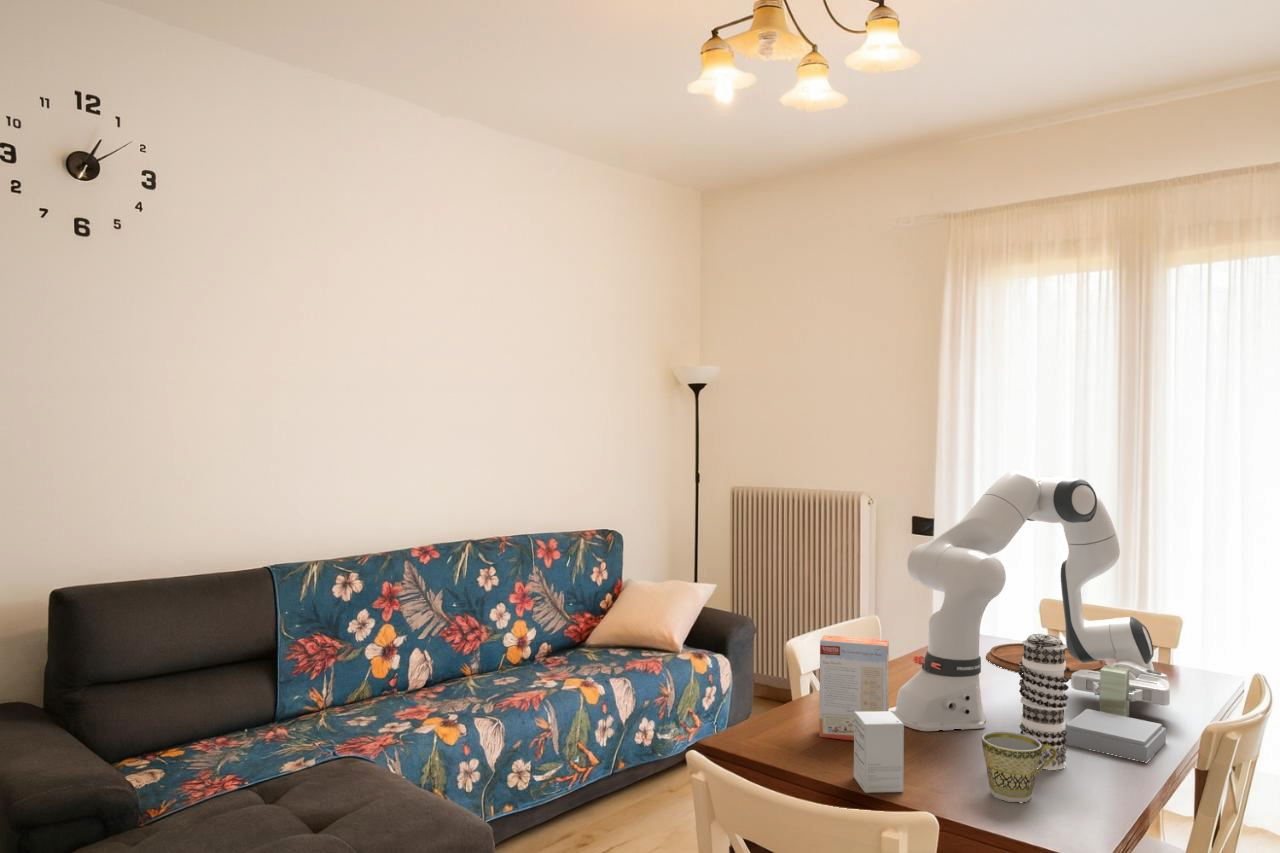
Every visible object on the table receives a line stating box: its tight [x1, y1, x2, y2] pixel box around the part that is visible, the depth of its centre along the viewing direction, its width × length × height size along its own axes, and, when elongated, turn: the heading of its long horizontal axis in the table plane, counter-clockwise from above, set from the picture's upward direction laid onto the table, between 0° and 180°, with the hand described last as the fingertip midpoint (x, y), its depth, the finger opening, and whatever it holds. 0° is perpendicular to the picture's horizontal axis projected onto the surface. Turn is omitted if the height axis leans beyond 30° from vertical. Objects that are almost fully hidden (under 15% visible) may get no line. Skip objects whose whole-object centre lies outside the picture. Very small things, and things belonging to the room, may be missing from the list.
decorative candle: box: [1018, 633, 1070, 771], centre depth 177 cm, size 9×9×25 cm
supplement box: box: [853, 711, 905, 794], centre depth 165 cm, size 7×7×13 cm
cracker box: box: [818, 634, 890, 742], centre depth 190 cm, size 14×6×21 cm, turn 70°
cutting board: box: [985, 642, 1109, 680], centre depth 253 cm, size 32×32×3 cm
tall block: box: [1099, 665, 1130, 718], centre depth 201 cm, size 5×5×12 cm
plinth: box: [1064, 708, 1167, 762], centre depth 188 cm, size 16×16×4 cm
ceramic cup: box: [981, 730, 1056, 804], centre depth 161 cm, size 13×10×10 cm
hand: (1113, 694), depth 200 cm, fingers closed on tall block, 5 cm apart
